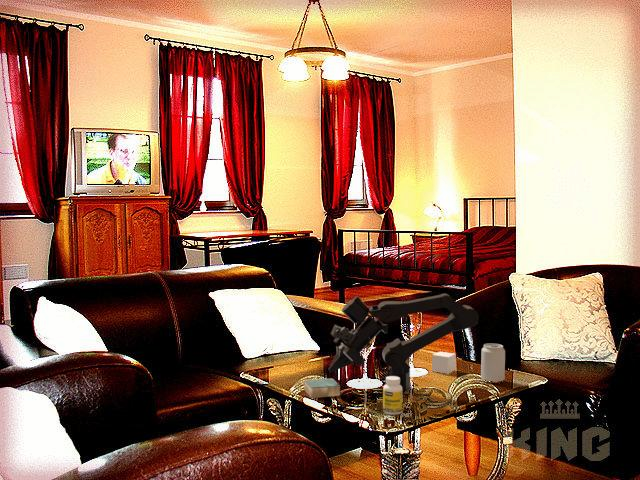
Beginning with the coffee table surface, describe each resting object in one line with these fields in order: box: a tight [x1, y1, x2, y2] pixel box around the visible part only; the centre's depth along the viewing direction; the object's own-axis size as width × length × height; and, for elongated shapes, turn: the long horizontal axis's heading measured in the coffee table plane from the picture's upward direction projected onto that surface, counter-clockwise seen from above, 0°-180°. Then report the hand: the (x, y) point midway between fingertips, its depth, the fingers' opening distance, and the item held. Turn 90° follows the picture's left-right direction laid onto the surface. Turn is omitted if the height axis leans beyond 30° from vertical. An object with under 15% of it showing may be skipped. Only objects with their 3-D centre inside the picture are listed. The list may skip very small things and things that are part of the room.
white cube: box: [431, 351, 457, 375], centre depth 237 cm, size 6×6×6 cm
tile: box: [304, 377, 341, 399], centre depth 211 cm, size 4×8×9 cm
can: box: [480, 343, 506, 382], centre depth 224 cm, size 8×8×12 cm
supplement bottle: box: [382, 376, 403, 416], centre depth 193 cm, size 5×5×10 cm
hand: (329, 370), depth 212 cm, fingers closed
